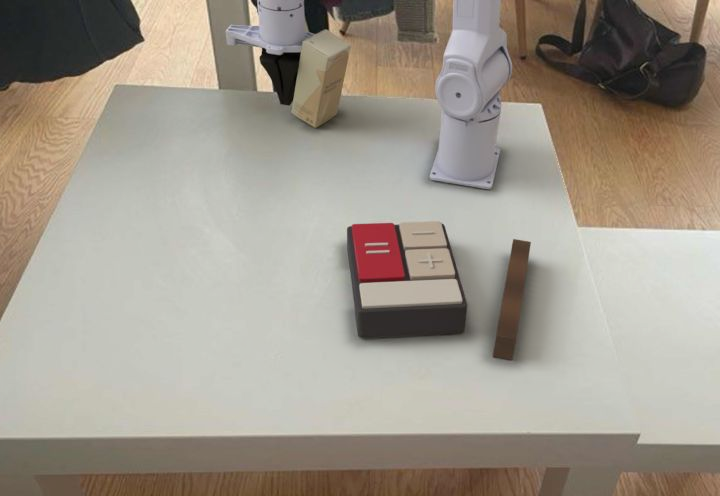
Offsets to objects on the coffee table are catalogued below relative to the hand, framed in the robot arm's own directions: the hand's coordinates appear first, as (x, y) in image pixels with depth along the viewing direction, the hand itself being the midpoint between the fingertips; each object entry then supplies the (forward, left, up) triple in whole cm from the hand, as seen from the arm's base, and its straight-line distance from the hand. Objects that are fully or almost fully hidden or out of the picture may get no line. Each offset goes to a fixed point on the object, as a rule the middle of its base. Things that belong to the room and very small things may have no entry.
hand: (287, 101), depth 111 cm
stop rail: (+32, +35, -2) cm, 47 cm away
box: (0, +4, -1) cm, 4 cm away
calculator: (+32, +23, -2) cm, 39 cm away
